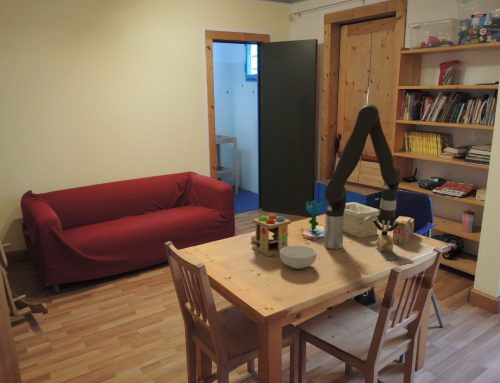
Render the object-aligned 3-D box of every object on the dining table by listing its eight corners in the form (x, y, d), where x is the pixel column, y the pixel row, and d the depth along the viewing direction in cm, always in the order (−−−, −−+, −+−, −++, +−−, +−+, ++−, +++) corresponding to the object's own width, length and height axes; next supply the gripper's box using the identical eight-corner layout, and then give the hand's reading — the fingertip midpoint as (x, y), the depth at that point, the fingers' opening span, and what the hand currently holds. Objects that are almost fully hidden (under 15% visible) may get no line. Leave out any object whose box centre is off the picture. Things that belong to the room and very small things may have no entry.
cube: (380, 251, 208) (381, 242, 206) (376, 244, 214) (378, 235, 211) (392, 251, 208) (394, 241, 206) (388, 244, 214) (390, 234, 211)
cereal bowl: (323, 268, 189) (324, 253, 188) (293, 275, 181) (294, 260, 180) (301, 256, 204) (301, 242, 202) (272, 263, 196) (272, 248, 194)
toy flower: (312, 235, 235) (313, 204, 231) (302, 231, 242) (302, 201, 238) (324, 233, 239) (325, 202, 236) (314, 229, 247) (314, 199, 243)
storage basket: (331, 228, 249) (332, 204, 246) (352, 224, 256) (354, 201, 253) (358, 239, 228) (359, 213, 225) (380, 235, 235) (382, 210, 232)
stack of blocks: (402, 232, 239) (403, 212, 237) (413, 234, 236) (415, 213, 233) (392, 243, 222) (393, 221, 219) (404, 245, 218) (405, 223, 216)
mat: (387, 260, 197) (387, 260, 197) (375, 248, 214) (375, 248, 214) (401, 260, 197) (401, 260, 197) (389, 248, 214) (389, 247, 214)
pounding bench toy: (242, 244, 222) (242, 211, 218) (263, 238, 230) (263, 207, 227) (269, 256, 204) (269, 221, 200) (291, 250, 212) (291, 216, 208)
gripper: (373, 208, 205) (370, 239, 211) (401, 211, 201) (397, 242, 207) (374, 202, 211) (371, 232, 218) (401, 205, 207) (397, 235, 214)
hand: (384, 237), depth 213 cm, fingers closed
